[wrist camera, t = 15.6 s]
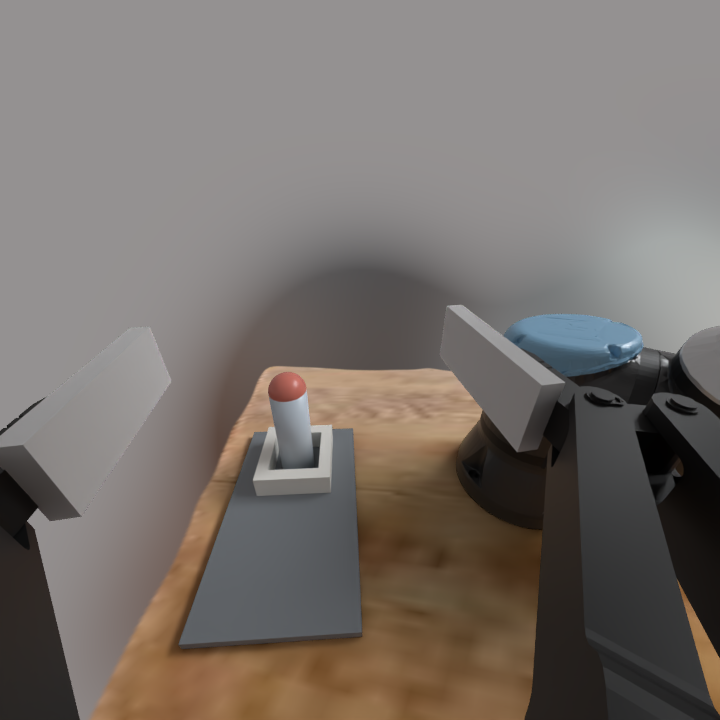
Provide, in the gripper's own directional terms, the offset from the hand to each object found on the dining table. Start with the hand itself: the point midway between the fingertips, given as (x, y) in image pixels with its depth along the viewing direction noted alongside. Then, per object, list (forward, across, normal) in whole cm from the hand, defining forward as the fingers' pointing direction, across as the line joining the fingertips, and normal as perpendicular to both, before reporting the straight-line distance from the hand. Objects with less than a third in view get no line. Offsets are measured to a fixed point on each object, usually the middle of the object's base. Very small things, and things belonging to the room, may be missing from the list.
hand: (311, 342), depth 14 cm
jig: (+12, -5, -29) cm, 32 cm away
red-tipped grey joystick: (+18, -4, -28) cm, 33 cm away
